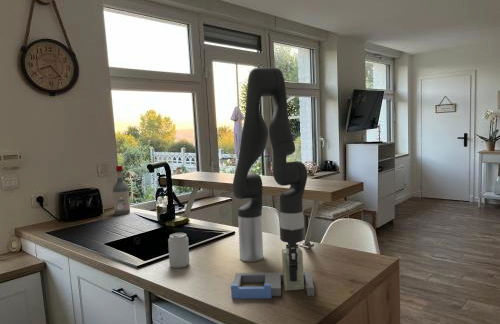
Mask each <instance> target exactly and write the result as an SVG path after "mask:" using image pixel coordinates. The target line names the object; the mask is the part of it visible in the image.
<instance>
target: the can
mask: <svg viewBox="0 0 500 324" xmlns="http://www.w3.org/2000/svg"><path fill="white" fill-rule="evenodd" d="M167 241H168V242H167V243H168V246H167V247H168V259H169V261H168V262H169V266H170V267H172V268H173V269H182V268H185V267H187V266H188V265H189V264H190V249H189V245H190V244H189V237H188V236H187V233H184V232H175V233H172V234H169V238H168V239H167Z"/></svg>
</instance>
